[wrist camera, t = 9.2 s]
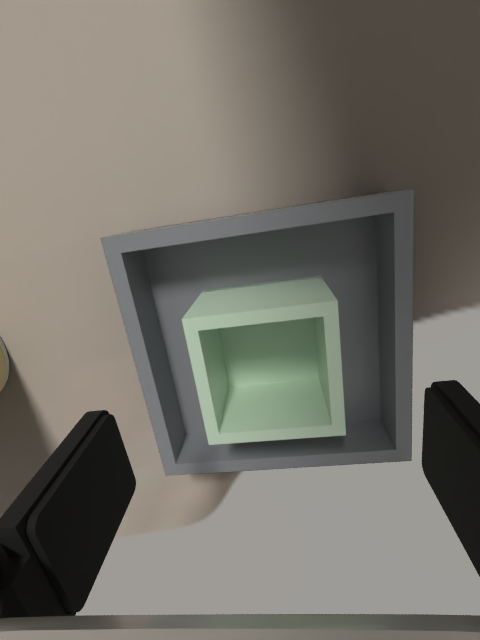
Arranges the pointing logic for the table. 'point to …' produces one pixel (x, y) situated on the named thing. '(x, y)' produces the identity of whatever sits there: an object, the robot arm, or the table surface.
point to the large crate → (265, 266)
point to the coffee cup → (3, 365)
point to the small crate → (267, 361)
